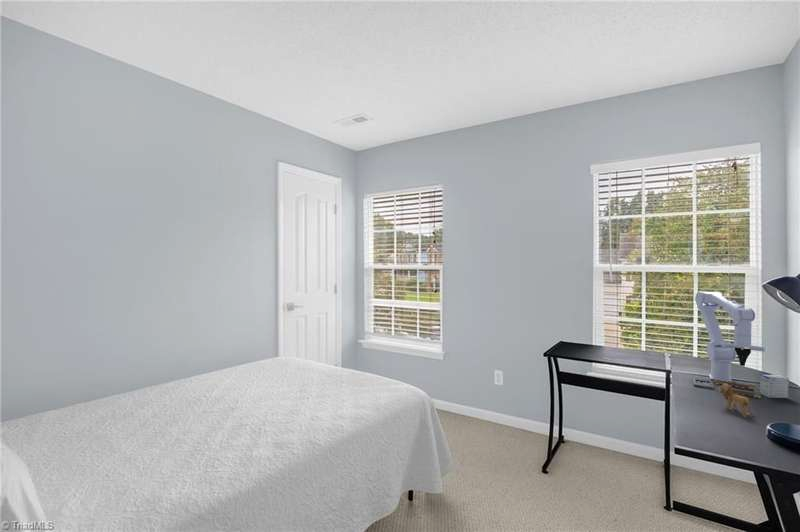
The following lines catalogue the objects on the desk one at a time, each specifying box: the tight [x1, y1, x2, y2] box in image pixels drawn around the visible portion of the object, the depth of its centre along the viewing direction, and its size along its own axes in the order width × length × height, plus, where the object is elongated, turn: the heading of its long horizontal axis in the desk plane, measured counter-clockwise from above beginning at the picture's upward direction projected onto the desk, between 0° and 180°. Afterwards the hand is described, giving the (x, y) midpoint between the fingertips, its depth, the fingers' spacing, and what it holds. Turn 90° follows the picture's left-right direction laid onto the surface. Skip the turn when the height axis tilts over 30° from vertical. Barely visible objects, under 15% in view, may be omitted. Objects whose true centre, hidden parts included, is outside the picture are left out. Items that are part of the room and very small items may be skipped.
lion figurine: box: [716, 384, 757, 420], centre depth 144 cm, size 15×5×9 cm, turn 2°
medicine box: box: [759, 374, 790, 399], centre depth 164 cm, size 8×4×9 cm, turn 88°
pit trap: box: [692, 378, 715, 390], centre depth 177 cm, size 11×7×1 cm, turn 145°
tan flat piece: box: [713, 379, 761, 399], centre depth 171 cm, size 14×14×2 cm
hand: (742, 365), depth 174 cm, fingers closed
